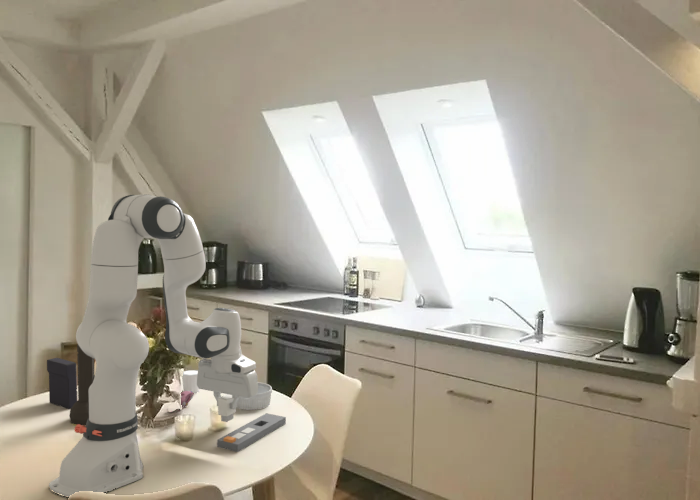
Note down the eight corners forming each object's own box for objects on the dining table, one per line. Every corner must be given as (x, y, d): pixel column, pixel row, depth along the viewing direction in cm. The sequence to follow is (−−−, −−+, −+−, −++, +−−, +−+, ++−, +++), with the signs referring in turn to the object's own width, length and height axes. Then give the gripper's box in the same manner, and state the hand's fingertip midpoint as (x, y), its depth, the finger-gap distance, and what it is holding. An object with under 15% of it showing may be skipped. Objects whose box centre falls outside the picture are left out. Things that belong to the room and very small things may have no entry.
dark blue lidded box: (79, 406, 205) (78, 362, 204) (67, 410, 202) (66, 364, 200) (59, 400, 211) (58, 356, 210) (47, 403, 207) (46, 359, 206)
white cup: (178, 393, 220) (178, 374, 220) (186, 387, 227) (186, 369, 226) (196, 395, 219) (196, 375, 219) (204, 389, 226) (204, 370, 225)
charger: (227, 423, 183) (226, 400, 182) (218, 421, 184) (218, 398, 184) (236, 418, 187) (235, 395, 186) (227, 416, 188) (227, 394, 188)
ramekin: (278, 410, 205) (279, 390, 204) (241, 418, 198) (242, 396, 197) (261, 399, 216) (261, 379, 215) (225, 406, 208) (225, 385, 208)
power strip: (238, 457, 168) (238, 441, 167) (217, 452, 171) (217, 436, 170) (285, 428, 189) (285, 414, 189) (266, 424, 192) (266, 410, 192)
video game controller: (176, 418, 200) (185, 400, 199) (164, 411, 201) (173, 392, 200) (189, 408, 210) (198, 390, 209) (178, 401, 211) (187, 384, 210)
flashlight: (68, 427, 187) (103, 423, 190) (66, 345, 185) (102, 343, 188) (70, 416, 196) (104, 413, 199) (69, 338, 194) (103, 336, 197)
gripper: (191, 359, 186) (192, 404, 187) (248, 369, 177) (248, 416, 178) (205, 355, 191) (206, 398, 192) (260, 363, 182) (261, 409, 183)
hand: (226, 407), depth 185 cm, fingers closed on charger, 3 cm apart
